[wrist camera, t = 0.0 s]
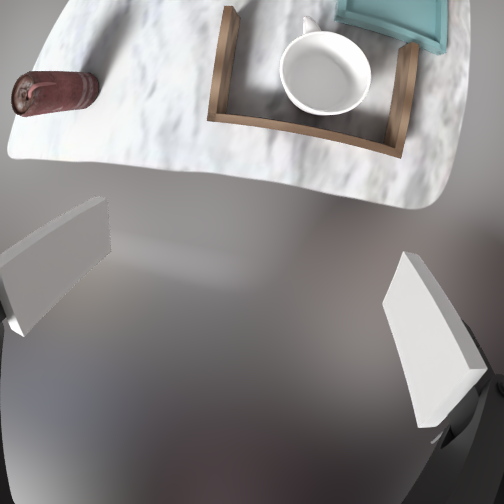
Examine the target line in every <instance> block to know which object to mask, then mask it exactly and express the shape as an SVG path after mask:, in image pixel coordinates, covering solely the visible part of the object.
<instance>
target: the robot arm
mask: <svg viewBox="0 0 504 504" xmlns="http://www.w3.org/2000/svg"><path fill="white" fill-rule="evenodd" d="M110 252H111V241H110V230H109V214H108V198H104V197H97V196H95V197H93V198H91V199H89V200H87V201H85V202H83V203H82V204H80V205H78V206H76V207H74V208H73V209H71V210H69V211H67V212H66V213H64V214H63V215H60V216H59V217H57V218H55V219H54V220H52V221H51V222H49V223H47V224H46V225H44V226H42V227H41V228H39V229H37V230H36V231H34V232H33V233H31V234H30V235H28V236H26V237H25V238H23V239H22V240H20V241H19V242H17V243H16V244H14V245H13V246H11V247H10V248H9V249H7V250H6V251H4V252H3V253H1V254H0V377H1V358H2V347H3V337H4V326H3V323H2V320H4V319H5V318H6V317H7V320H8V322H9V324H10V327H11V329H12V330H13V331H15V332H17V333H18V334H20V335H22V336H23V337H24V336H25V335H26V334H27V333H28V332H29V331H30V330H31V329H32V328H33V327H34V326H35V324H36V323H37V322H38V321H39V320H40V319H41V318H42V317H43V316H44V315H45V314H46V313H47V312H48V311H49V310H50V309H51V308H52V307H53V306H54V305H55V304H56V303H57V302H58V301H59V300H60V299H61V298H62V297H63V296H64V295H65V294H66V293H67V292H68V291H69V290H70V289H71V288H72V287H73V286H74V285H75V284H76V283H77V282H78V281H79V280H81V279H82V278H83V277H84V276H85V275H86V274H87V273H88V272H89V271H90V270H91V269H92V268H93V267H94V266H96V265H97V264H98V263H99V262H100V261H101V260H102V259H103V258H104V257H106V256H107V255H108V254H109V253H110ZM382 305H383V308H384V311H385V313H386V316H387V319H388V322H389V325H390V328H391V331H392V334H393V337H394V340H395V343H396V347H397V349H398V353H399V356H400V359H401V363H402V366H403V370H404V373H405V377H406V380H407V384H408V387H409V391H410V395H411V399H412V403H413V407H414V411H415V416H416V420H417V425H418V428H423V427H434V426H437V425H438V424H439V423H440V422H441V421H442V420H443V419H444V418H445V417H446V416H447V415H448V419H449V422H450V424H449V425H448V426H447V427H446V428H445V429H444V430H442V431H441V432H440V433H439V434H438V435H437V436H436V437H435V438H434V439H433V440H432V441H431V443H432V444H433V443H434V442H436V441H437V440H438V439H439V441H438V443H437V445H436V447H435V449H434V451H433V453H432V454H431V456H430V458H429V460H428V462H427V463H426V465H425V467H424V469H423V470H422V472H421V474H420V475H419V477H418V479H417V480H416V482H415V484H414V485H413V487H412V488H411V490H410V491H409V493H408V494H407V496H406V497H405V499H404V500H403V502H402V503H401V504H504V375H502V374H496V375H495V374H494V372H493V370H492V368H491V366H490V364H489V362H488V360H487V358H486V356H485V354H484V352H483V350H482V348H480V345H479V343H478V342H477V340H476V339H475V336H474V334H473V332H472V331H471V329H470V327H469V326H468V325H467V324H466V323H465V322H464V321H463V320H462V319H461V318H460V317H459V315H458V314H457V312H456V311H455V309H454V307H453V306H452V304H451V302H450V301H449V299H448V298H447V296H446V295H445V293H444V291H443V290H442V288H441V287H440V285H439V284H438V282H437V281H436V280H435V278H434V277H433V275H432V273H431V272H430V271H429V269H428V268H427V266H426V265H425V263H424V262H423V261H422V259H421V258H420V257H419V255H418V254H413V253H409V252H405V251H404V252H403V254H402V256H401V259H400V262H399V264H398V267H397V269H396V272H395V275H394V277H393V280H392V282H391V284H390V287H389V289H388V292H387V294H386V296H385V298H384V301H383V303H382ZM0 504H15V503H14V501H13V499H12V496H11V492H10V487H9V482H8V477H7V472H6V465H5V459H4V452H3V443H2V432H1V413H0Z"/></svg>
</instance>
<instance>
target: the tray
mask: <svg viewBox="0 0 504 504" xmlns="http://www.w3.org/2000/svg"><path fill="white" fill-rule="evenodd" d="M447 17H448V10H447V0H337V3H336V11H335V19H334V21H336V22H340V23H344V24H348V25H352V26H356V27H360V28H364V29H367V30H371V31H374V32H377V33H380V34H384V35H387V36H390V37H393V38H395V39H398V40H401V41H404V42H407V43H410V42H414V43H416V44H419V48H422V49H424V50H427V51H429V52H431V53H434V54H436V55H441V54H444V53H446V46H447Z"/></svg>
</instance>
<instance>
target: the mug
mask: <svg viewBox="0 0 504 504" xmlns="http://www.w3.org/2000/svg"><path fill="white" fill-rule="evenodd" d="M303 19H304V24H303V35H301V36H299V37H298V38H296V39H295V40H293V41H292V42H291V43H290V44H289V45H288V46H287V48H286V49H285V51H284V53H283V55H282V58H281V62H280V76H281V80H282V83H283V86H284V88H285V91H286V93H287V95H288V97H289V99H290V100H291V101H292V102H293V103H294V104H295V105H296V106H297V107H298V108H300V109H301V110H303V111H305V112H307V113H310V114H315V115H336V114H342V113H345V112H348V111H350V110H352V109H353V108H355V107H357V106H358V105H359V104H360V103H361V102H362V101H363V100H364V98H365V97H366V95H367V94H368V91H369V89H370V85H371V68H370V65H369V62H368V60H367V58H366V56H365V54H364V53H363V51H362V50H361V49H360V48H359V47H358V46H357V45H356V44H355V43H354V42H353V41H351V40H350V39H348V38H346V37H345V36H342V35H340V34H337V33H334V32H329V31H322V30H321V29H320V27H319V26H318V25H317V23H316V22H315V21H314V20H313V19H312V18H311V17H309V16H305V17H304V18H303Z"/></svg>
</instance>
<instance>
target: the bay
mask: <svg viewBox="0 0 504 504" xmlns="http://www.w3.org/2000/svg"><path fill="white" fill-rule="evenodd" d="M239 24H240V17H239V15H238V14H237V12H236V10H235V9H234V7H233V6H224V10H223V15H222V21H221V27H220V32H219V38H218V44H217V51H216V57H215V64H214V70H213V77H212V85H211V92H210V100H209V108H208V116H207V121H212V122H222V123H231V124H240V125H248V126H255V127H262V128H269V129H275V130H281V131H287V132H293V133H298V134H303V135H308V136H313V137H318V138H323V139H328V140H332V141H337V142H341V143H345V144H349V145H353V146H357V147H361V148H365V149H369V150H372V151H376V152H380V153H383V154H387V155H390V156H394V157H397V158H400V159H401V157H402V152H403V148H404V143H405V138H406V133H407V128H408V123H409V118H410V112H411V106H412V100H413V94H414V87H415V80H416V72H417V63H418V53H419V44H416V43H414V42H410V43H409V44H407V45H405V46H403V47H402V48H400V49H399V51H398V59H397V68H396V75H395V82H394V89H393V95H392V102H391V108H390V113H389V119H388V124H387V129H386V134H385V139H384V144H382V143H378V142H375V141H371V140H367V139H364V138H360V137H356V136H352V135H348V134H344V133H340V132H335V131H331V130H326V129H322V128H317V127H312V126H307V125H302V124H296V123H291V122H285V121H279V120H273V119H266V118H259V117H252V116H244V115H235V114H226V110H227V103H228V95H229V88H230V81H231V74H232V67H233V61H234V54H235V48H236V42H237V36H238V30H239Z"/></svg>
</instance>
